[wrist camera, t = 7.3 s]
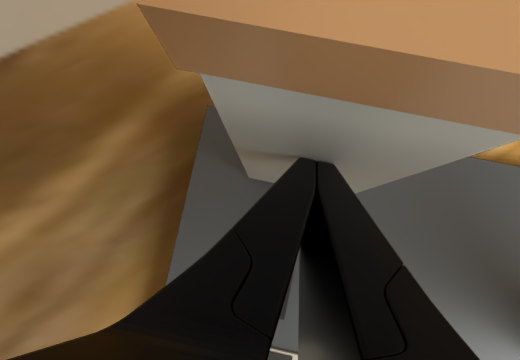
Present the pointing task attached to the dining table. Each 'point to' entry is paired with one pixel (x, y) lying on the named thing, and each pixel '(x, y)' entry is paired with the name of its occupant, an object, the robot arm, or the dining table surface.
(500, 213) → the switch bank
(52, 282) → the dining table surface
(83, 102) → the dining table surface
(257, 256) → the robot arm
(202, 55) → the lever
